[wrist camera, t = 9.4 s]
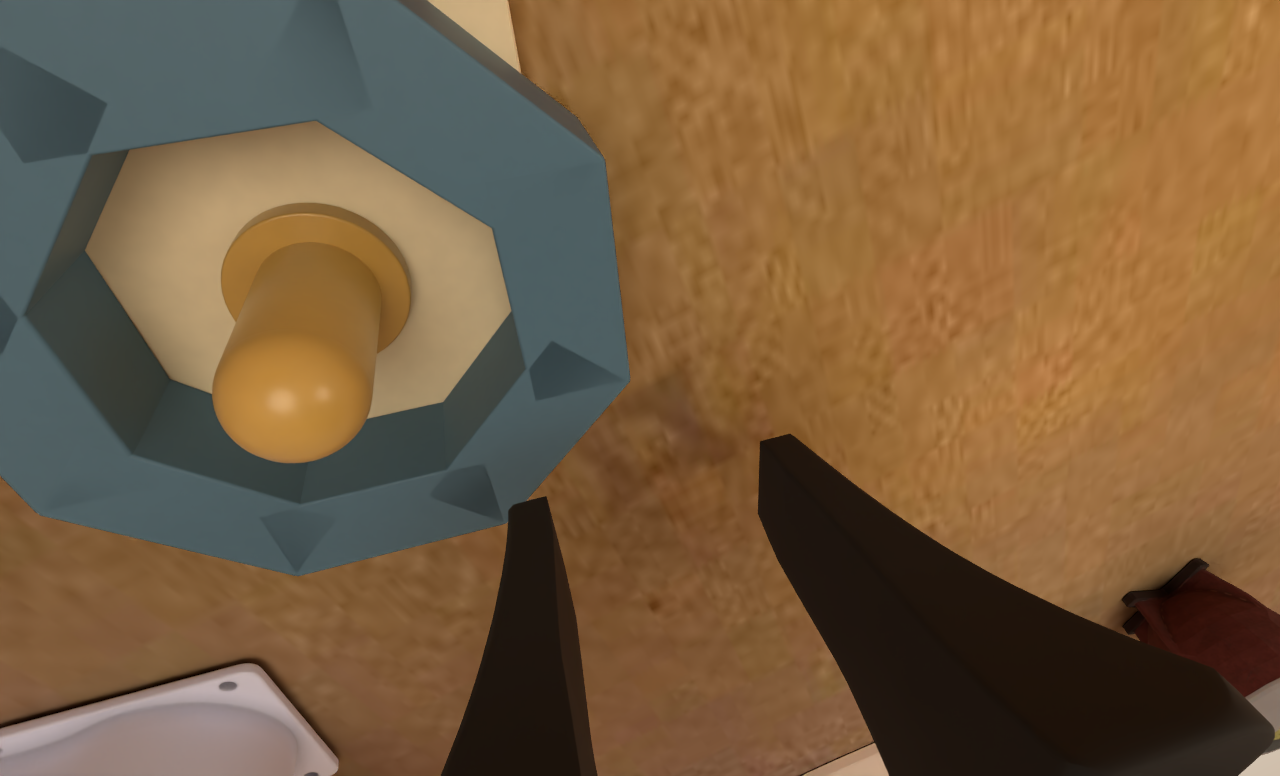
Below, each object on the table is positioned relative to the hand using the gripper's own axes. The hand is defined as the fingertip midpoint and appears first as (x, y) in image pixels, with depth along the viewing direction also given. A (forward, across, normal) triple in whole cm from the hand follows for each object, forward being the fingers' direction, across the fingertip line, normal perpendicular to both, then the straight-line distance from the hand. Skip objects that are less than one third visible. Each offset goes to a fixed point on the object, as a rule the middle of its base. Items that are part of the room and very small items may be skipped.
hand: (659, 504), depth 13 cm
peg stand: (+7, +6, -3) cm, 9 cm away
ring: (+6, +6, -3) cm, 9 cm away
